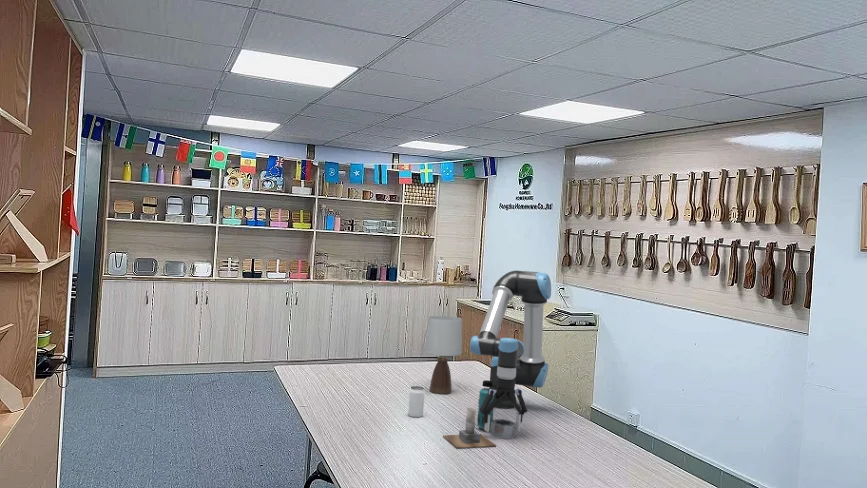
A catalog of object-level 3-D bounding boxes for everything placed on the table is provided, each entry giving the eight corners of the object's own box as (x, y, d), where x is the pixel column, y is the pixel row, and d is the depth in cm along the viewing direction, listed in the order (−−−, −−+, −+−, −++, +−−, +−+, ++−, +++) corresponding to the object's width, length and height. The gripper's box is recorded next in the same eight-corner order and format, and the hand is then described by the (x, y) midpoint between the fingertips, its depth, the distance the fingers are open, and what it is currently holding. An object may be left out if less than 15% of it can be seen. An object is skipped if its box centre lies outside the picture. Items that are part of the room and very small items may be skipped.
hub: (507, 431, 267) (507, 419, 267) (517, 438, 259) (518, 425, 259) (487, 432, 264) (487, 419, 264) (496, 439, 256) (497, 426, 256)
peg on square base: (480, 435, 259) (482, 403, 259) (496, 446, 246) (498, 413, 246) (442, 437, 254) (445, 404, 253) (456, 448, 240) (459, 414, 240)
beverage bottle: (494, 428, 269) (497, 380, 269) (490, 432, 263) (493, 383, 263) (478, 426, 272) (482, 378, 271) (474, 430, 265) (478, 381, 265)
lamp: (466, 394, 325) (471, 320, 324) (435, 397, 314) (440, 321, 314) (444, 385, 340) (449, 315, 340) (414, 388, 330) (419, 315, 329)
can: (421, 418, 277) (423, 390, 277) (406, 416, 278) (408, 388, 278) (424, 414, 284) (426, 387, 283) (409, 412, 285) (411, 385, 285)
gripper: (529, 375, 269) (525, 426, 269) (473, 375, 260) (469, 428, 260) (538, 379, 262) (534, 432, 262) (481, 379, 253) (477, 434, 253)
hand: (502, 430), depth 261 cm, fingers open, 13 cm apart
